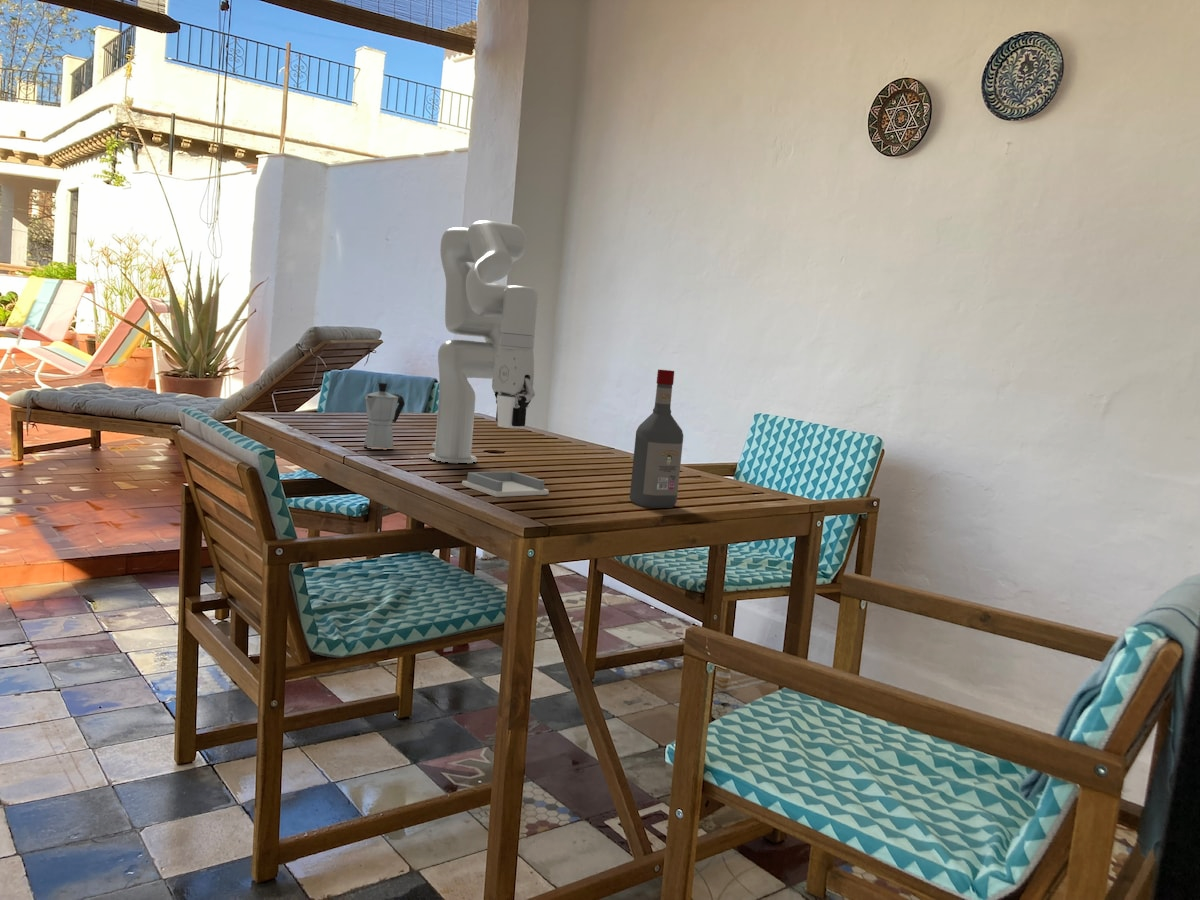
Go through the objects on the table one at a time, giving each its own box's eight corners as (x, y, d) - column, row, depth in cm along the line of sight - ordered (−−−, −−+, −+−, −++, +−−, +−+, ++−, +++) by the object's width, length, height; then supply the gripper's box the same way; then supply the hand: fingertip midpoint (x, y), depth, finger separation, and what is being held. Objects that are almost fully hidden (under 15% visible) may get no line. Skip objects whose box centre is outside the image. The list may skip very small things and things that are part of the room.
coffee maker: (373, 451, 251) (377, 384, 249) (350, 446, 255) (354, 380, 253) (412, 448, 263) (416, 384, 261) (389, 444, 268) (393, 381, 266)
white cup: (488, 425, 209) (490, 393, 208) (512, 424, 214) (514, 394, 213) (508, 429, 204) (510, 397, 203) (532, 428, 209) (534, 397, 208)
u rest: (461, 485, 212) (462, 471, 211) (513, 483, 221) (514, 470, 220) (495, 496, 201) (496, 483, 201) (548, 494, 210) (549, 481, 210)
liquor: (681, 508, 208) (695, 373, 205) (646, 508, 204) (660, 370, 200) (658, 499, 216) (671, 369, 213) (624, 500, 212) (637, 367, 208)
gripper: (481, 339, 211) (475, 419, 213) (525, 344, 198) (518, 429, 200) (509, 341, 216) (503, 419, 218) (553, 346, 203) (546, 429, 205)
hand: (510, 423), depth 209 cm, fingers closed on white cup, 5 cm apart
